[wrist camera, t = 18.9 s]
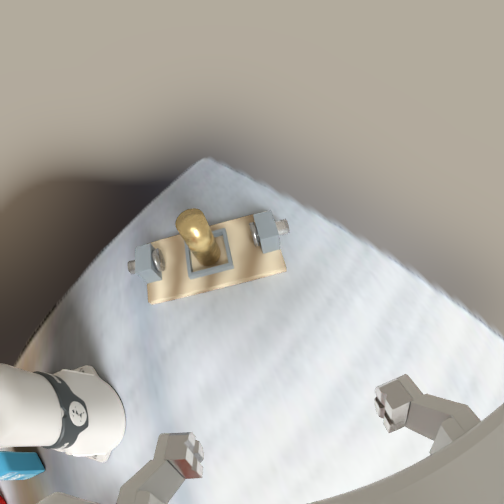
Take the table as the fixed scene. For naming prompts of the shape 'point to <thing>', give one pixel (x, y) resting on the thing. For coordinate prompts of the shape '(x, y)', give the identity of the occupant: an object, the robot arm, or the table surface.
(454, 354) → the table surface
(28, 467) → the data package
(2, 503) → the ceramic cup
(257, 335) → the table surface
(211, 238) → the cylinder
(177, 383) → the table surface
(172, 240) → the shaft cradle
